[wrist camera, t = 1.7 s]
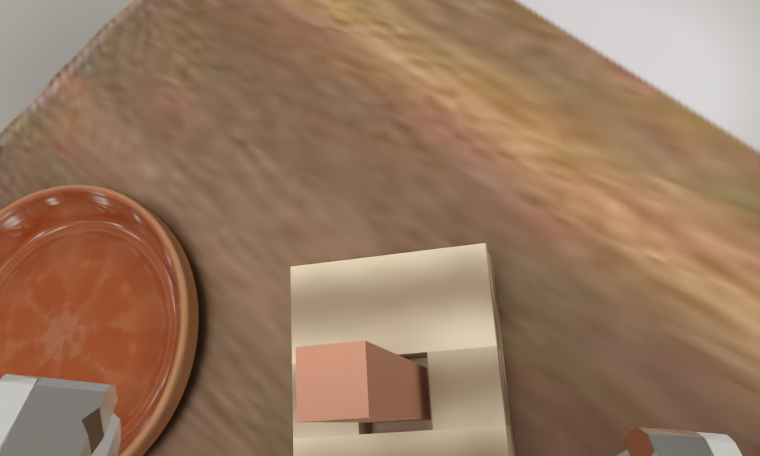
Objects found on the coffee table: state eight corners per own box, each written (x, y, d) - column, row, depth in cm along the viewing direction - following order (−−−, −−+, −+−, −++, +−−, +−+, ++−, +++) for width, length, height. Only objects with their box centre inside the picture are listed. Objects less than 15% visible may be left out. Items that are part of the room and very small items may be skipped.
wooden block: (430, 419, 38) (368, 417, 25) (381, 422, 39) (296, 422, 26) (426, 367, 39) (365, 340, 26) (378, 371, 40) (295, 346, 27)
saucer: (30, 573, 45) (-12, 585, 42) (-88, 331, 54) (-132, 325, 50) (271, 350, 45) (248, 344, 42) (115, 145, 54) (85, 126, 50)
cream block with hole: (524, 540, 38) (520, 561, 32) (330, 545, 40) (295, 564, 35) (493, 266, 43) (485, 243, 37) (322, 285, 45) (290, 266, 40)
